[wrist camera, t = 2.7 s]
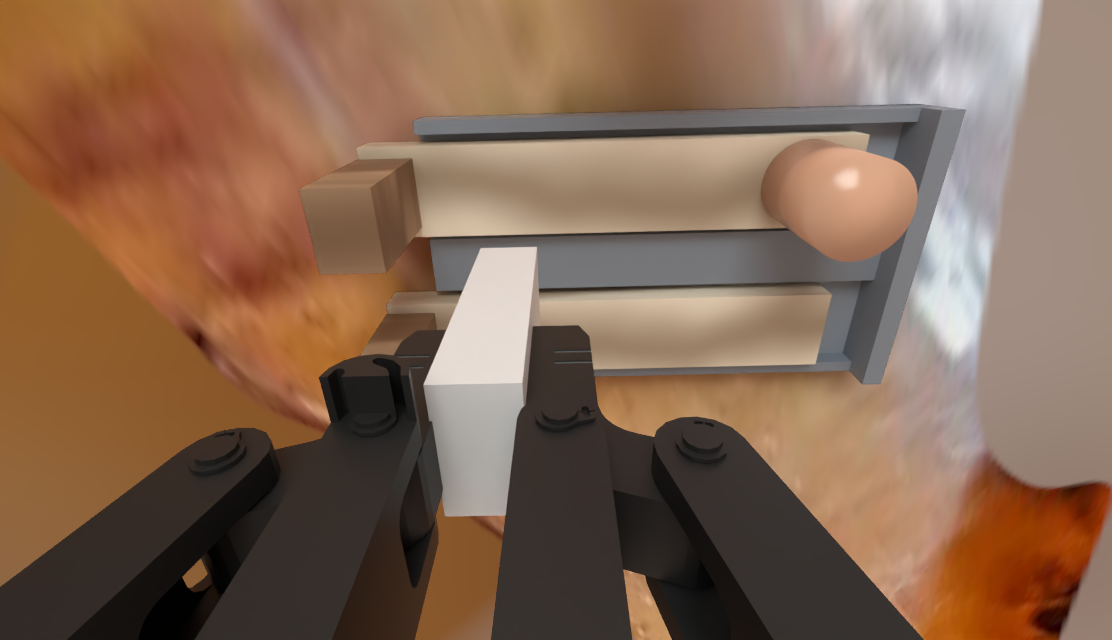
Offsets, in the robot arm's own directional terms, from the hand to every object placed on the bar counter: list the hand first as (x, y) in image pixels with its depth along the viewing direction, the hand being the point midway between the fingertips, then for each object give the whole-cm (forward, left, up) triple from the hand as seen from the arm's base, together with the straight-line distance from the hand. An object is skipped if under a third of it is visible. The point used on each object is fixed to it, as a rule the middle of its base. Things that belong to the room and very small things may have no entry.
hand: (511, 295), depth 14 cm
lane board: (+4, +7, -14) cm, 16 cm away
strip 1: (0, +4, -13) cm, 14 cm away
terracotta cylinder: (0, +13, -11) cm, 17 cm away
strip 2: (+8, +4, -13) cm, 15 cm away
